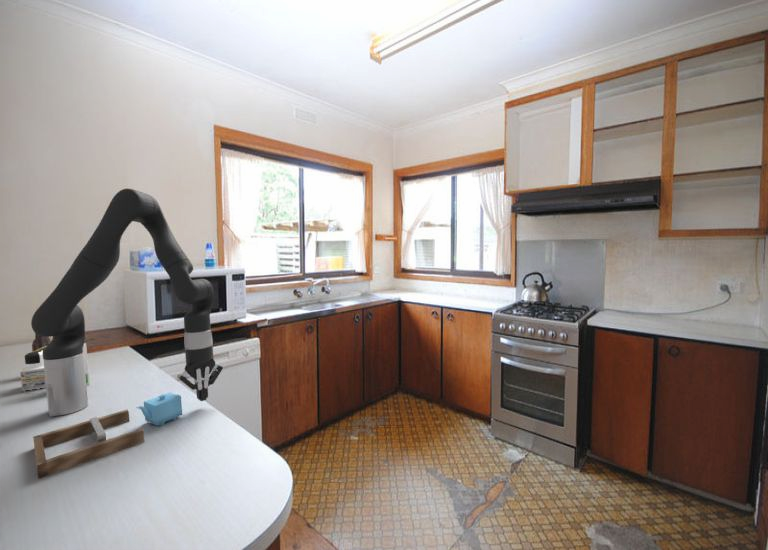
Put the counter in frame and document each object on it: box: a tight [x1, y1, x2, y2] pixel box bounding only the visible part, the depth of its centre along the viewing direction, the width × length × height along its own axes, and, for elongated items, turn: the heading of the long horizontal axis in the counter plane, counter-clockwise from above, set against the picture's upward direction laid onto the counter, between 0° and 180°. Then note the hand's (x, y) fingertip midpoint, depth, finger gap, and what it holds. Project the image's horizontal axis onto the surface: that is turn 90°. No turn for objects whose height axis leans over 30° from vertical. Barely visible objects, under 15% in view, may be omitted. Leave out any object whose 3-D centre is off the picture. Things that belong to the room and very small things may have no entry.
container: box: [19, 350, 46, 392], centre depth 132 cm, size 8×8×13 cm
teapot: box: [135, 392, 183, 427], centre depth 102 cm, size 12×6×8 cm, turn 148°
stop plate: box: [89, 416, 107, 444], centre depth 92 cm, size 2×13×4 cm, turn 46°
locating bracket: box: [32, 409, 145, 480], centre depth 90 cm, size 20×18×3 cm
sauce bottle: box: [31, 332, 52, 352], centre depth 145 cm, size 7×6×20 cm
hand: (202, 399), depth 110 cm, fingers closed
